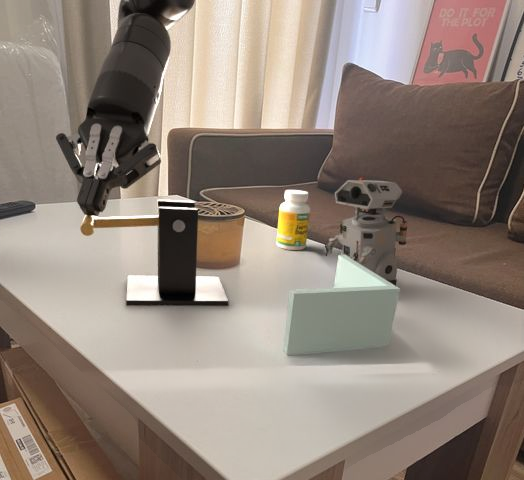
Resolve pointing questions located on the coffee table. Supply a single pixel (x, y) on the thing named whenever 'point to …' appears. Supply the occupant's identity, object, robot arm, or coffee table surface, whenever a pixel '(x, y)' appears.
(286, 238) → the supplement bottle
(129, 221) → the tap lever
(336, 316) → the l-shaped corner panel
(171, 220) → the bracket
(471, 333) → the coffee table surface
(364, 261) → the figurine
